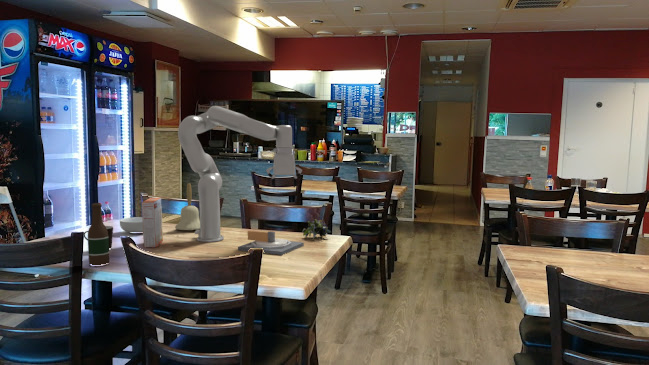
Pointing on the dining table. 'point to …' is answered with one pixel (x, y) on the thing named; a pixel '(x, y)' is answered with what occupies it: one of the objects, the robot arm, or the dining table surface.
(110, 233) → the coffee mug
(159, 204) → the cracker box
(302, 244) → the dial base
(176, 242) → the dining table surface
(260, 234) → the dial
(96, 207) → the beer bottle
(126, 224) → the cereal bowl
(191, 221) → the handbell
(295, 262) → the dining table surface
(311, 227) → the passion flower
